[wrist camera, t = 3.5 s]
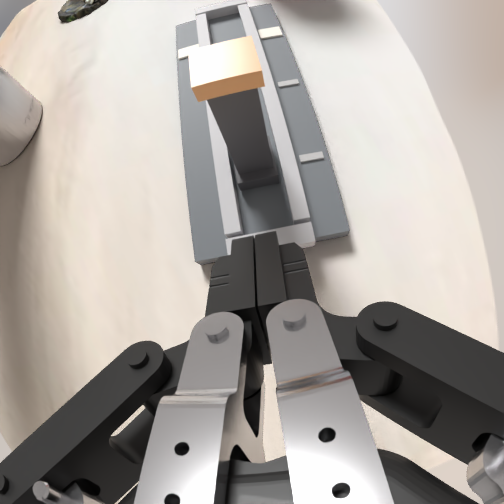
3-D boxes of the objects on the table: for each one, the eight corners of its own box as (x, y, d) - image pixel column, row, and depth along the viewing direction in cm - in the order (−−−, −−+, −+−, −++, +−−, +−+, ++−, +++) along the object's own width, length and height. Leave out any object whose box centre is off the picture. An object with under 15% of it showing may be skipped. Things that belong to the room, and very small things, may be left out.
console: (201, 272, 22) (190, 266, 19) (179, 31, 28) (172, 15, 25) (349, 242, 21) (354, 233, 18) (270, 9, 27) (268, -8, 24)
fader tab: (239, 191, 21) (191, 92, 11) (232, 153, 22) (187, 47, 12) (281, 182, 21) (263, 75, 11) (272, 144, 21) (250, 31, 11)
